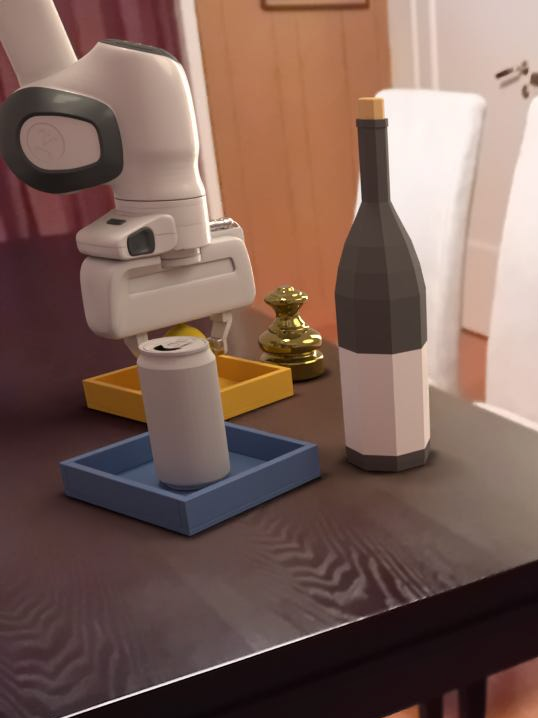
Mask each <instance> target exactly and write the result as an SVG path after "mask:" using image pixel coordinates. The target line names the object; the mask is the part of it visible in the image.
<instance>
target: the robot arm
mask: <svg viewBox="0 0 538 718" xmlns="http://www.w3.org/2000/svg"><path fill="white" fill-rule="evenodd" d="M0 43H1V45H2V48H3V49H4V52H5V54H6V56H7V58H8V61H9V62H10V64H11V67H12V69H13V71H14V73H15V76H16V78H17V81H18V84H19V85H18V86H19V88H17V89H16V90H14V91H13V92H12V93H11V94H10V95H8V97H7V98H6V99H4V101H3V102H2V104H1V105H0V155H1V158H2V160H3V161H4V163H5V164H6V167H8V169H9V170H10V171H11V173H12V174H13V175H14V176H15V177H17V179H19V181H21V182H22V183H23V184H25V185H26V186H28V187H29V188H32V189H33V190H36V191H38V192H42V193H46V194H51V195H53V196H54V195H56V196H69V195H73V194H74V195H75V194H79V193H80V192H83V191H84V190H87V189H90V188H94V187H98V186H108V187H109V188H110V189H111V190H112V192H113V193H112V194H113V199H114V204H115V205H114V206H115V207H114V208H112V209H110V210H109V211H108V212H107V213H105V214H104V215H102V216H100V217H99V218H97V219H96V220H94V221H93V222H91V223H90V224H88V225H87V226H84V227H83V228H81V229H80V230H78V231H77V233H76V235H75V243H76V248H77V250H78V252H79V253H81V254H83V255H87V257H86V258H84V260H83V262H82V263H81V266H80V269H79V280H80V281H79V282H80V292H81V299H82V304H83V306H82V307H83V310H84V311H83V312H84V316H85V321H86V325H87V327H88V328H89V329H90V331H92V332H93V333H94V334H95V335H96V336H97V337H100V338H104V339H110V340H114V341H115V340H117V341H118V340H123V343H124V344H125V346H126V347H127V348H128V350H129V351H130V352H131V353H132V355H133V356H134V357H135V358H136V361H137V360H138V357H139V355H140V353H141V352H140V351H139V345H140V344H142V343H143V342H146V341H149V336H148V333H150V332H154V331H157V330H161V329H165V328H169V327H174V326H177V324H181V323H185V324H186V323H188V322H193V321H196V320H199V319H203V318H207V317H209V320H210V321H213V323H212V326H211V332H210V336H209V337H206V339H207V340H208V341H209V345H210V348H211V351H212V352H213V354H214V355H215V356H220V355H226V354H227V353H228V350H229V349H228V343H227V341H228V340H227V338H228V336H229V332H230V329H231V326H232V323H233V314H232V313H233V312H232V311H235V310H239V309H243V308H248V307H251V306H252V305H253V303H254V301H255V299H256V296H257V290H256V284H255V277H254V274H253V273H254V272H253V268H252V263H251V260H250V254H249V252H248V249H247V247H246V244H245V235H244V234H245V233H244V231H243V228H242V227H241V226H240V224H239V223H238V222H237V221H235V220H233V219H232V218H231V217H227V216H223V217H220V218H217V219H210V216H209V207H208V199H207V191H206V188H205V185H204V182H203V181H202V180H203V179H202V178H201V174H200V169H199V155H200V145H201V144H200V137H199V130H198V123H197V117H196V111H195V105H194V100H193V96H192V91H191V88H190V83H189V79H188V77H187V74H186V72H185V68H184V67H183V65H182V63H181V62H179V60H178V59H177V57H175V56H174V55H173V54H172V53H170V51H167V50H166V49H164V48H162V47H157V46H154V45H150V44H143V43H140V42H135V41H130V40H123V39H117V38H104V39H102V40H99V41H97V43H96V44H95V45H94V46H93V47H92V49H90V50H89V52H87V53H86V54H85V55H83V56H82V57H81V58H79V56H78V54H77V52H76V50H75V48H74V45H73V43H72V40H71V38H70V36H69V33H68V31H67V28H66V26H65V24H64V22H63V19H62V17H61V15H60V12H59V10H58V7H57V5H56V2H55V0H0Z"/></svg>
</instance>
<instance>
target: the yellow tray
mask: <svg viewBox="0 0 538 718" xmlns="http://www.w3.org/2000/svg"><path fill="white" fill-rule="evenodd" d="M215 357H216V364H217V372H218V379H219V387H220V394H221V402H222V409H223V416H224V421H226V420H229V419H232V418H234V417H237V416H240V415H243V414H245V413H249V412H252V411H253V410H256V409H259V408H261V407H264V406H267V405H270V404H272V403H276V402H278V401H281V400H285V399H286V398H290V397H291V396H294V386H293V385H294V384H293V381H292V374H291V368H286V367H282V366H277V365H272V364H267V363H262V362H261V361H256V360H251V359H246V358H242V357H237V356H231V355H226V354H223V355H220V356H215ZM81 382H82V385H83V386H82V387H83V392H84V395H85V400H86V405H87V408H88V409H91V410H96V411H99V412H103V413H107V414H111V415H115V416H119V417H122V418H126V419H130V420H134V421H136V422H137V421H138V422H142V423H146V424H147V420H146V414H145V408H144V403H143V397H142V391H141V385H140V380H139V374H138V368H137V364H135V365H131V366H128V367H124V368H120V369H117V370H113V371H110V372H106V373H103V374H99V375H96V376H93V377H89V378H86V379H82V381H81Z"/></svg>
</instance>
